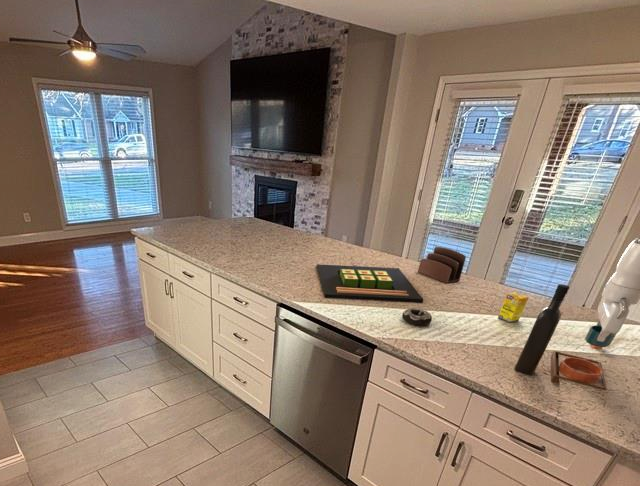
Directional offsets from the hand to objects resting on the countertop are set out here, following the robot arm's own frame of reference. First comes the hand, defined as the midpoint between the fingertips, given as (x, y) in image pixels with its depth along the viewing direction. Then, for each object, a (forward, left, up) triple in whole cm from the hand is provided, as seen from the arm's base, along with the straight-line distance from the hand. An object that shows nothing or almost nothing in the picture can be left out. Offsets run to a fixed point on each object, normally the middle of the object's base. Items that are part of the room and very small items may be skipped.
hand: (598, 335), depth 129 cm
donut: (+56, -15, -16) cm, 60 cm away
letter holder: (+60, -82, -16) cm, 103 cm away
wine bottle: (+15, +4, -16) cm, 22 cm away
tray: (0, -3, -16) cm, 16 cm away
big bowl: (0, 0, -16) cm, 16 cm away
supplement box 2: (-8, -33, -16) cm, 37 cm away
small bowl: (0, 0, -2) cm, 2 cm away
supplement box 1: (+23, -41, -16) cm, 49 cm away
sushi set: (+89, -47, -16) cm, 102 cm away
